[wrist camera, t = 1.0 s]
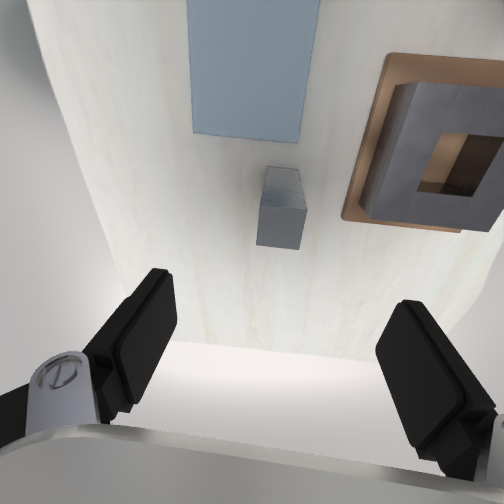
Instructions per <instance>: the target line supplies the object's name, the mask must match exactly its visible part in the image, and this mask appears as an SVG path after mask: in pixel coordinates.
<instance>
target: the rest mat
mask: <svg viewBox="0 0 504 504" xmlns="http://www.w3.org/2000/svg"><path fill="white" fill-rule="evenodd" d="M319 3H320V0H187V15H188V36H189V57H190V79H191V100H192V121H193V133H196V134H207V135H217V136H228V137H238V138H249V139H259V140H270V141H280V142H291V143H297V142H298V136H299V130H300V123H301V117H302V111H303V104H304V98H305V92H306V85H307V79H308V73H309V66H310V60H311V54H312V47H313V41H314V35H315V28H316V22H317V16H318V9H319Z"/></svg>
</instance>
